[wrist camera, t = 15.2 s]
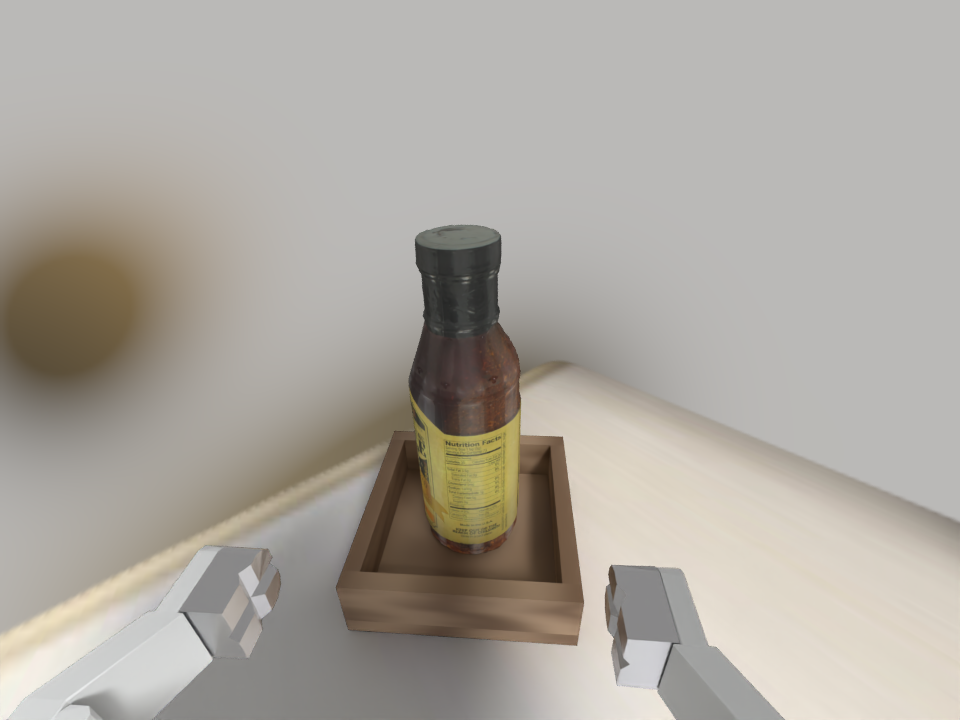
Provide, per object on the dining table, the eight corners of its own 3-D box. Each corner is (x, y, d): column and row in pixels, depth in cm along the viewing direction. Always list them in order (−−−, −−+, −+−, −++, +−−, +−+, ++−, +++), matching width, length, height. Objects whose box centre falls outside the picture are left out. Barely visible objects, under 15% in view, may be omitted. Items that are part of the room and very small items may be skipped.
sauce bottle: (443, 483, 34) (421, 214, 25) (525, 497, 33) (535, 218, 23) (411, 555, 29) (366, 245, 19) (507, 576, 27) (511, 252, 18)
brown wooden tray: (559, 475, 36) (562, 436, 34) (577, 645, 25) (584, 602, 23) (400, 469, 37) (394, 431, 35) (348, 629, 26) (335, 587, 24)
